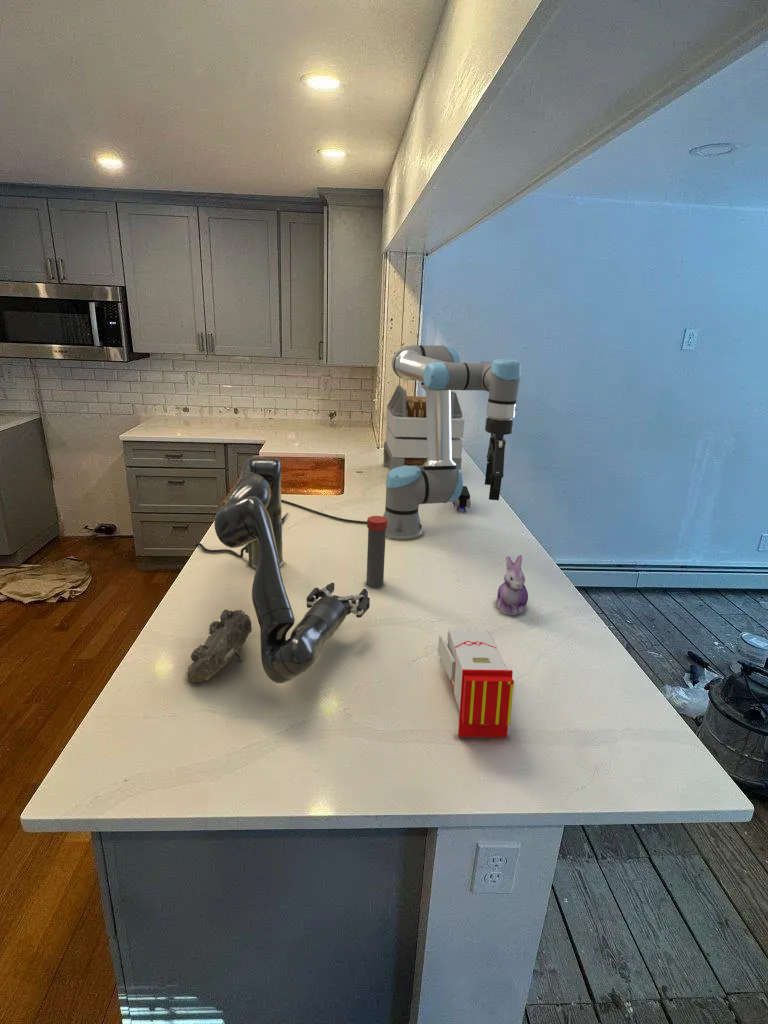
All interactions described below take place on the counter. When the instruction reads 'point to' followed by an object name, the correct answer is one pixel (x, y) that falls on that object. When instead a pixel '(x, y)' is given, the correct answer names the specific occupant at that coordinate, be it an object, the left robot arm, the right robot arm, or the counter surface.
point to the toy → (478, 682)
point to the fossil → (219, 645)
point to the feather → (283, 518)
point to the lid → (377, 523)
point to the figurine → (512, 589)
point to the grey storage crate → (416, 430)
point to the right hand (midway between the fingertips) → (491, 492)
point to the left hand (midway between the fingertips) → (348, 589)
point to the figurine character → (463, 500)
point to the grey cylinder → (375, 558)
